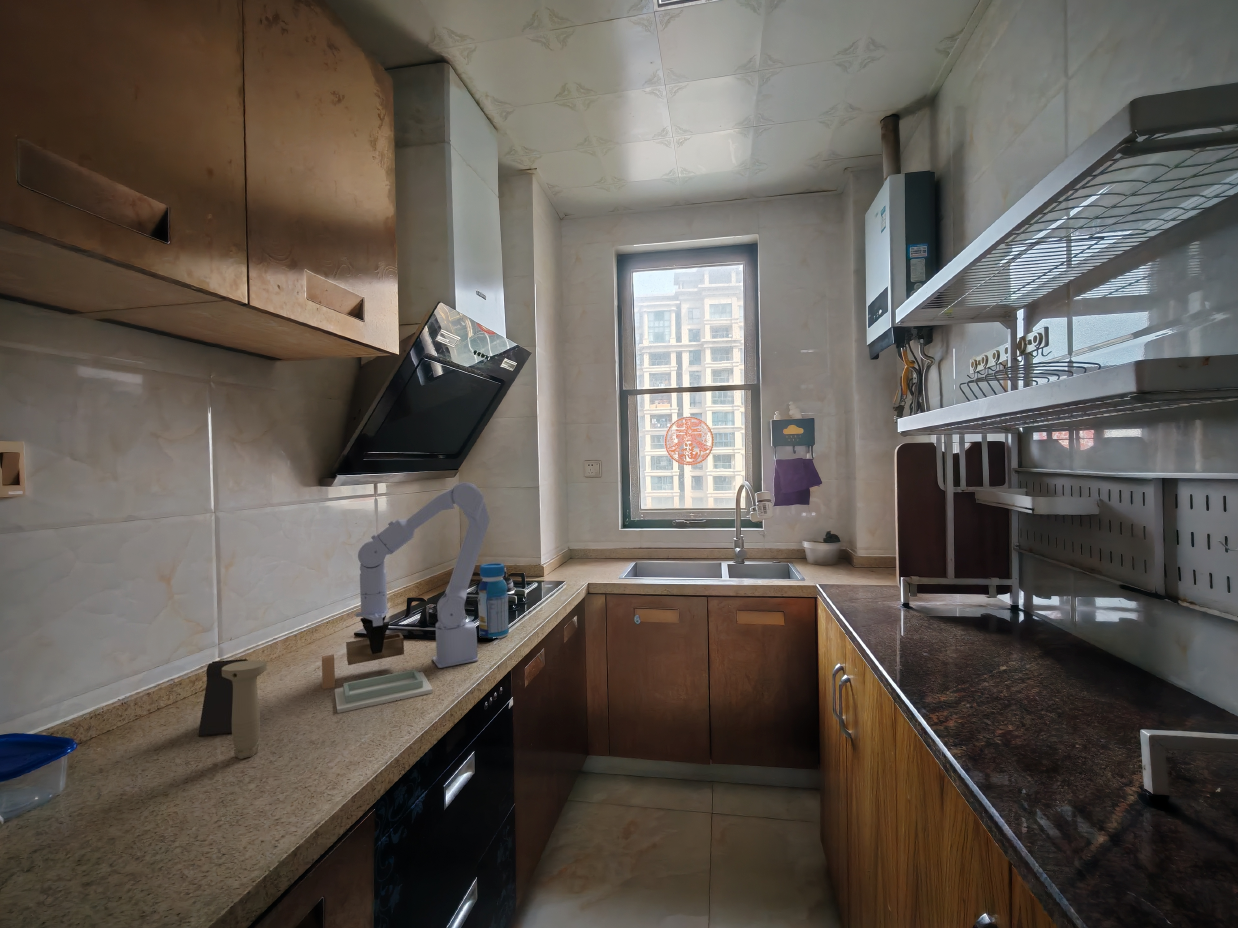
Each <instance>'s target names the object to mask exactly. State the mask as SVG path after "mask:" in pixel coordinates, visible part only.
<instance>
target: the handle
mask: <svg viewBox="0 0 1238 928" xmlns="http://www.w3.org/2000/svg"><path fill="white" fill-rule="evenodd" d="M267 667H268V664H267V661H266V660H259V659H256V660H255V659H253V660H248V661H242V662H235V663H232V664H229V665H226V666H224V667H223V668H222V676H223V677H225V678H227V679H230V680H231V681H232V683H233V704H232V734H231V737H232V744H233V747H234V750H233V751H234V756H235V758H238V759H239V760H243V759H246V758H251V757H253V756H254V755H255V754H257V753H258V752H259V748H260V747H259V746H260V745H259V744H258V743H259V742H260V734H261V733H260V731H261V717H260V716H261V714H260V705H259V695H258V684H257V683H258V682H257V681H258V676H260V675H262V674H264V672H266V671H267Z"/></svg>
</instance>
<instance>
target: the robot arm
mask: <svg viewBox="0 0 1238 928" xmlns="http://www.w3.org/2000/svg"><path fill="white" fill-rule="evenodd" d="M455 505H456V506H457V507H459V509H461V510H462V511H463V513H464V514H463V515H465V518H466V519H467V521H468V525H467V528H466V531H465V534H464V538H463V540H462V543H461V546H460V548H459V549H460V550H459V552H458V555H457V558H456V562H455V565H454V568H453V570H452V574H451V575H450V576H451V577H450V579H449V583H448V584H447V587H446V589H445V592H444V593H443V595H442V596H441V597H440V598H439V600H438V601H437V604H436V611H437V620H438V621H437V622H436V623H435V649H436V656H433V657H432V658H431V660H433V663H435V665H436V666H437V668H438V669H442V668H448V667H453V666H457V665H462V664H468V663H472V662H478V661H479V658H478V637H477V636H478V635H477V628H476V624H475V623H474V621H467V620H466V618H465V617H466V611H465V604H466V599H467V594H468V588H469V586H470V583H471V579H472V577H473V574H474V570H475V567H476V564H477V561H478V558H479V554H480V552H481V549H482V545H483V543H484V539H485V536H486V534H487V533H486V532H487V530H488V526H489V524H490V515H489V513H488V509H487V506H486V503H485V498H484V495H483V494H482V493H481V491H480V489H479V488H478V486H476V485H475V484H473V483H471V482H466V481H465V482H464V481H463V482H462V481H461V482H458V483H457V484H455V486H453V488H452V487H451V488H449V489H447V490H445V491H443V492H441V493H439V494H438V495H436V496H435V497H434V498H432V499H431V500H430V501H429V502H428V503H426V504H425V505H424V506H422V508H420V509H418V510H417V511H416V512H415V513H413V514H412V515H411V516H409V518H407V519H396V520H395V521H394V520H391V521H390V522H388V523H387V525H388V526H387V527H386V528H385V529H383V530H381V531H380V532H379V533H378V534H373V535H371V536H370V538H371V540H369V541H367V542H365V543H364V544H363V545H361V547H360V548H359V550H358V553H357V558H358V561H359V563H360V565H359V570H360V573H359V588H360V589H359V590H360V591H359V592H360V595H359V596H360V611H357V612H355V617H356V618H360V619H359V620H360V622H361V623H362V627H363V630H364V631H365V634H366V639H367V638H368V639H369V643H370V648H371V652H372V654H377V653H382V650H383V645H384V639H385V635H387V632H388V629H389V627H390V624H391V623H390V621H385V620H386V618H387V615H388V613H389V608H388V591H387V588H388V587H387V571H386V566H385V564H386V563H385V559H386V557H387V556H388V555H389V556H390V555H393V554H394V553H395V552H396V551H398V550H399V549H401V548H402V547H403V546H404V545H406V544H408V542H410V541H411V540H412V539H414V538H415V536H414V535H415V530H416V529H418V528H420V527H421V526H422V525H424V524H425V523H426V522H428V521H429V520H431V519H432V518H434V517H435V516H436V515H437V514H439V513H441V512H442V511H446V510H454V509H455Z"/></svg>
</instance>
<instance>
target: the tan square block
mask: <svg viewBox="0 0 1238 928" xmlns="http://www.w3.org/2000/svg"><path fill="white" fill-rule="evenodd" d="M335 668H336V666H335V654H328V655H322V656H321V679H322V680H321V681H322V690H327V689H331V688H336V678H335V677H336V675H335V673H336V672H335V670H336V669H335Z"/></svg>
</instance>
